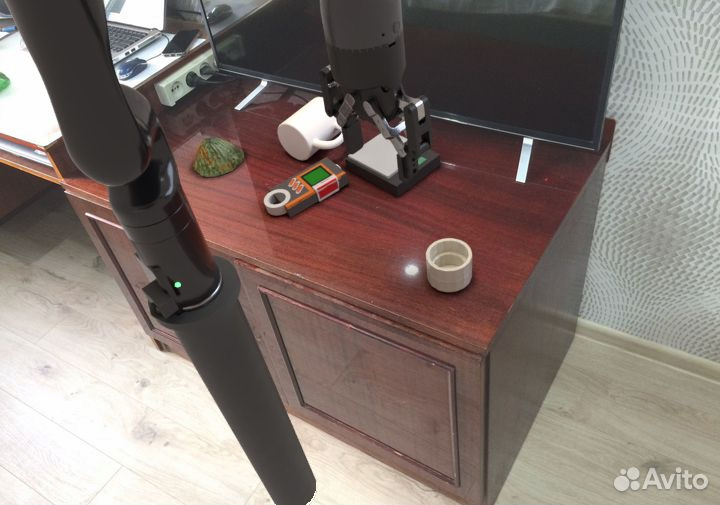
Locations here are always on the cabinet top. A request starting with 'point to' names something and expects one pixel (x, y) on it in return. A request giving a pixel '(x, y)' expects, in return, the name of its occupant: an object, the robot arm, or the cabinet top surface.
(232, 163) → the seashell
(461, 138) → the cabinet top surface
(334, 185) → the electronic device
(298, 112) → the mug
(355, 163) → the scale
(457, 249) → the beige cylindrical cup
